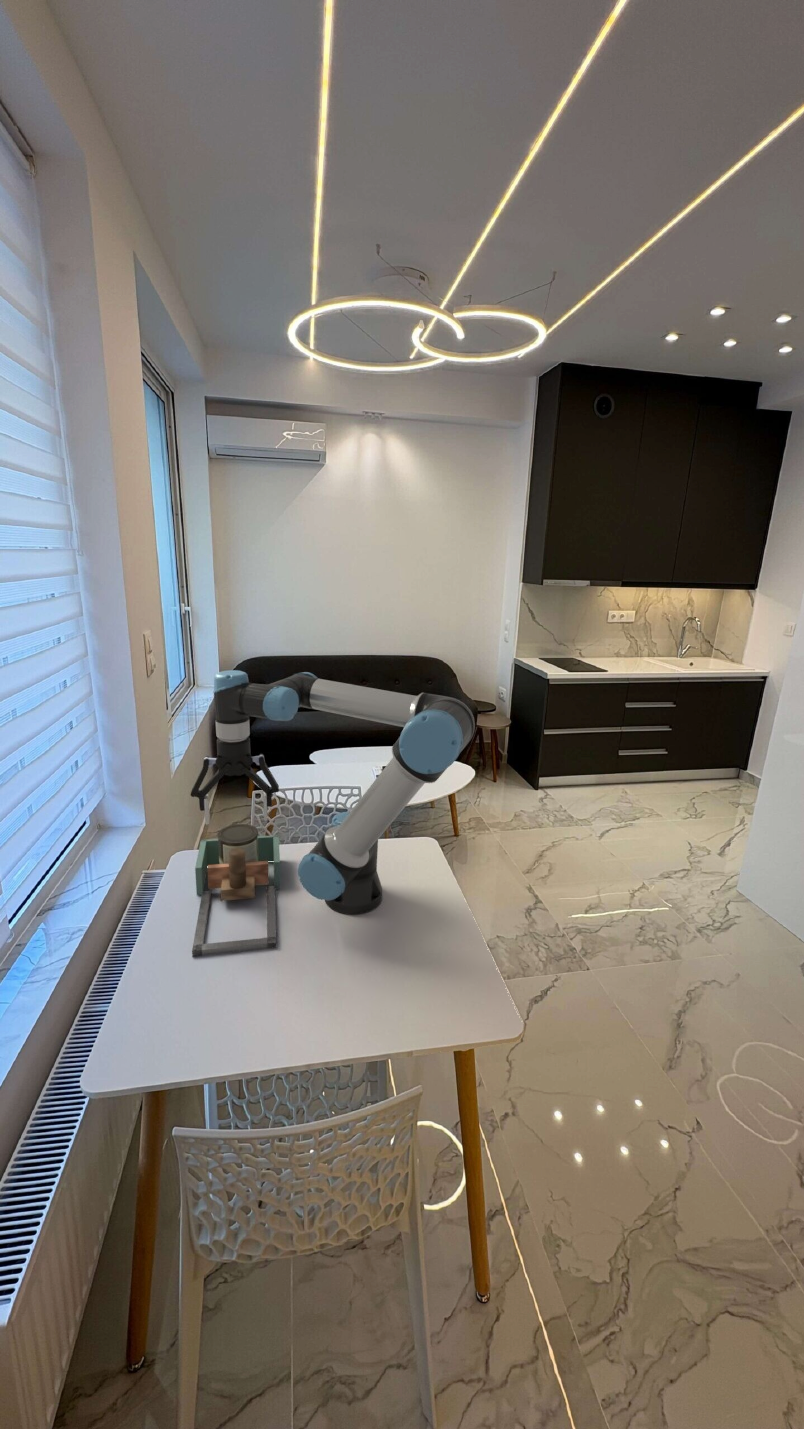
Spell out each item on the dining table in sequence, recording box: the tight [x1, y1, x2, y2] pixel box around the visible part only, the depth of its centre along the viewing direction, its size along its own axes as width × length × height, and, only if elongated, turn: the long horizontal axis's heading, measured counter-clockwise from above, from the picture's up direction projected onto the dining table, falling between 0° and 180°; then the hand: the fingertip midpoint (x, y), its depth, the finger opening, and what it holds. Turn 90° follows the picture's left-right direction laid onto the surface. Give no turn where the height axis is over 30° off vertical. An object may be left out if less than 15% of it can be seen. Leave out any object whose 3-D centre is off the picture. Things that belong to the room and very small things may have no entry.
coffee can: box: [217, 823, 259, 864], centre depth 156 cm, size 10×10×14 cm
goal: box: [194, 834, 281, 896], centre depth 158 cm, size 21×15×8 cm
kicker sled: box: [207, 848, 269, 901], centre depth 148 cm, size 15×7×12 cm, turn 103°
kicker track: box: [191, 885, 277, 958], centre depth 141 cm, size 18×23×2 cm
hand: (236, 820), depth 142 cm, fingers open, 13 cm apart
